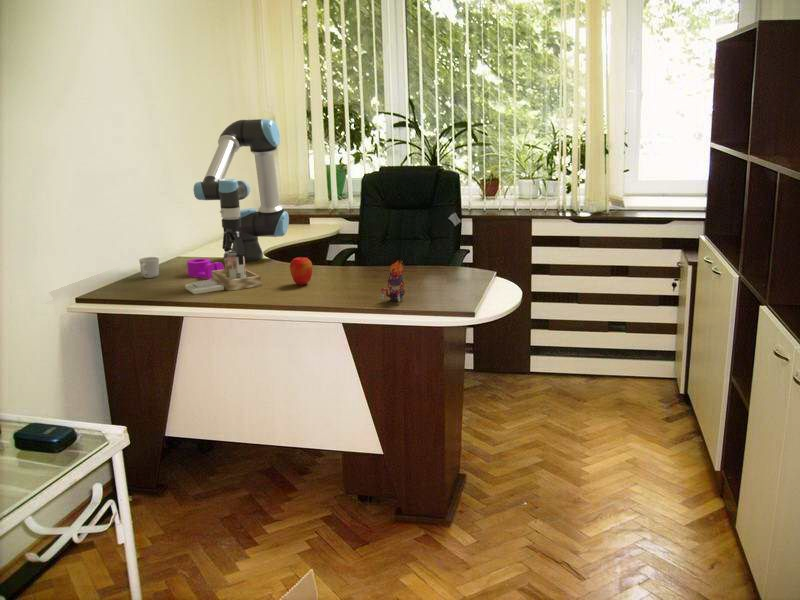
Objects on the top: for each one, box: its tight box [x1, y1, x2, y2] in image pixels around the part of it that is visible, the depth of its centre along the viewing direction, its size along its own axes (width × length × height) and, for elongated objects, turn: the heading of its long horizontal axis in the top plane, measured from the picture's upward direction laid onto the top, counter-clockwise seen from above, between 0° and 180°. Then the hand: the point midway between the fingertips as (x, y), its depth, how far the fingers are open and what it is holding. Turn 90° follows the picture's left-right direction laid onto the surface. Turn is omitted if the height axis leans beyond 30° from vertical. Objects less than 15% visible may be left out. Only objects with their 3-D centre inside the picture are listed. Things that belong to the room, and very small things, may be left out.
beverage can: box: [223, 250, 247, 280], centre depth 322 cm, size 9×8×12 cm
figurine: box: [378, 259, 406, 302], centre depth 287 cm, size 8×9×15 cm
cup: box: [139, 256, 160, 279], centre depth 337 cm, size 11×8×8 cm
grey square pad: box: [190, 279, 217, 289], centre depth 315 cm, size 8×8×1 cm
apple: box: [289, 255, 314, 286], centre depth 317 cm, size 9×9×12 cm
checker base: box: [184, 281, 225, 295], centre depth 315 cm, size 12×12×2 cm
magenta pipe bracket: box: [186, 257, 225, 280], centre depth 339 cm, size 16×10×6 cm, turn 52°
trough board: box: [210, 268, 263, 292], centre depth 323 cm, size 14×22×4 cm, turn 31°
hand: (235, 269), depth 322 cm, fingers open, 13 cm apart
